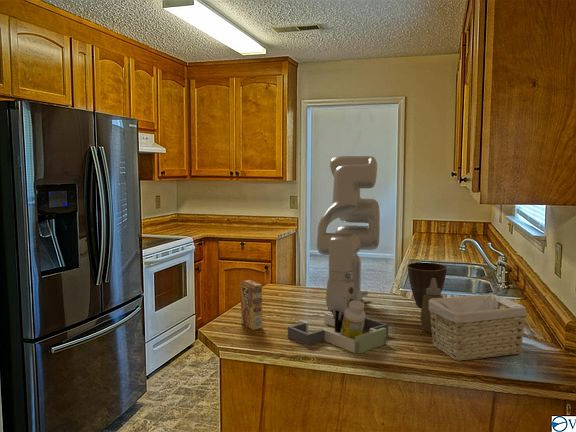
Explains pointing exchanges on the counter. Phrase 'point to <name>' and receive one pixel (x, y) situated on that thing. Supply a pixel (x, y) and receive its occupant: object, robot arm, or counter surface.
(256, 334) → the counter surface
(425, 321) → the squeeze bottle
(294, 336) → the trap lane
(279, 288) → the counter surface
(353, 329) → the supplement bottle
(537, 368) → the counter surface
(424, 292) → the plant pot
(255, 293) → the candy box
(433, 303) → the storage basket
